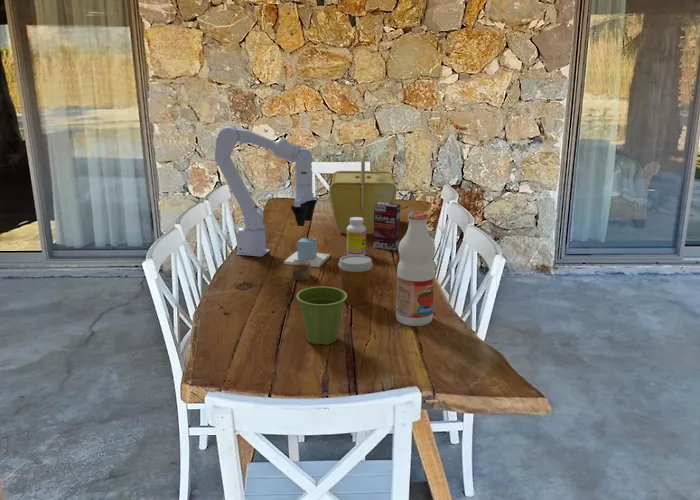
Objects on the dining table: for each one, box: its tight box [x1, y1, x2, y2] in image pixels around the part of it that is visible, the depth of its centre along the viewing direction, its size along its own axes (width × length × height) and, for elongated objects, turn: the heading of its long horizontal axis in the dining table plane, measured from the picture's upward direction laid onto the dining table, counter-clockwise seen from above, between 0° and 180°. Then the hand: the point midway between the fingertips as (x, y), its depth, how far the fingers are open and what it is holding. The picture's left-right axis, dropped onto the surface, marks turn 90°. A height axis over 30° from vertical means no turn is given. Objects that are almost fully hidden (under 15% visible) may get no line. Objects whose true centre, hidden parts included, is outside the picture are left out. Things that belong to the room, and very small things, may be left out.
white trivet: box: [283, 250, 331, 268], centre depth 210 cm, size 12×12×1 cm
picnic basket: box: [328, 148, 398, 235], centre depth 252 cm, size 29×26×30 cm
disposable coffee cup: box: [337, 255, 374, 306], centre depth 173 cm, size 10×10×12 cm
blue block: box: [296, 237, 318, 260], centre depth 209 cm, size 5×5×6 cm
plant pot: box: [296, 286, 347, 346], centre depth 148 cm, size 12×12×11 cm
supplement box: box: [372, 202, 401, 251], centre depth 224 cm, size 9×5×16 cm, turn 68°
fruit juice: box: [395, 211, 436, 327], centre depth 158 cm, size 9×9×28 cm
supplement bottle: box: [346, 217, 367, 256], centre depth 215 cm, size 7×7×13 cm
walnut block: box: [291, 260, 311, 281], centre depth 193 cm, size 5×5×5 cm
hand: (304, 223), depth 217 cm, fingers open, 7 cm apart
